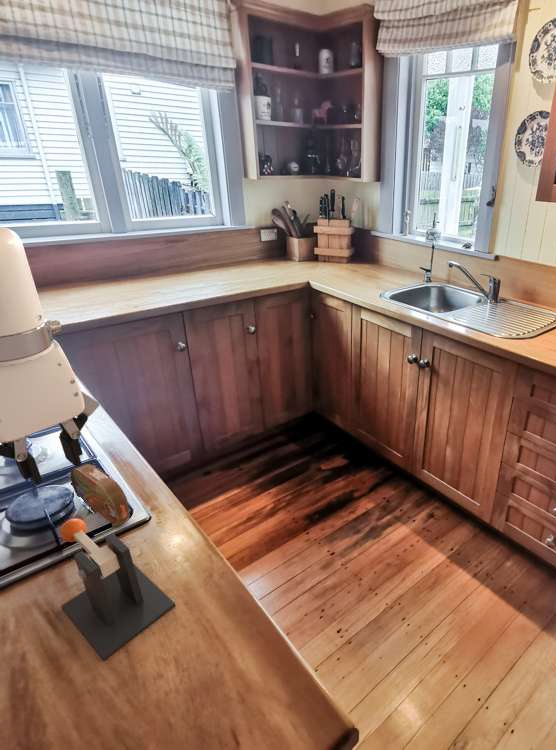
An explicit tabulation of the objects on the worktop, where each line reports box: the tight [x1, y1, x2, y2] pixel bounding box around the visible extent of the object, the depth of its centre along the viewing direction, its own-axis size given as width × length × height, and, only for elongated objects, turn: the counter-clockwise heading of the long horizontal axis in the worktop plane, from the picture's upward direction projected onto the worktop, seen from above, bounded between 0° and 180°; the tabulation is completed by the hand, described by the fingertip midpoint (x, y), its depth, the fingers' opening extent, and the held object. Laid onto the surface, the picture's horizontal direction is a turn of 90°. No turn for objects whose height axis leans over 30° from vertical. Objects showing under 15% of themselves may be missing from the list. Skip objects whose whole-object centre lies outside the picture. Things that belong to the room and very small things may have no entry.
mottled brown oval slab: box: [70, 463, 131, 529], centre depth 81 cm, size 15×3×8 cm, turn 55°
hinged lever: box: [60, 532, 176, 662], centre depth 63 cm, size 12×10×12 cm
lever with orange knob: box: [59, 517, 120, 579], centre depth 64 cm, size 12×3×3 cm, turn 53°
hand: (54, 469), depth 61 cm, fingers open, 4 cm apart
